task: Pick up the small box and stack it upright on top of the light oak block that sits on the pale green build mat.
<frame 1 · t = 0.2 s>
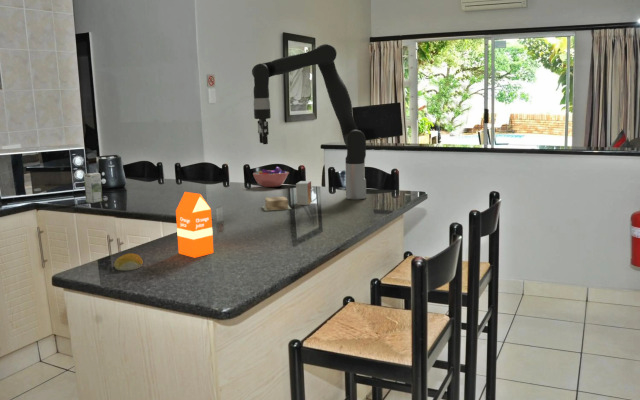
hand: (263, 143, 272), 28 cm above the worktop, tool pointing down, fingers open, 8 cm apart
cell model: (271, 187, 328), on the worktop
small box: (304, 204, 273), on the worktop
oak block: (276, 207, 263), point 1 cm above the worktop, touching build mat
orange juice: (196, 253, 191), on the worktop
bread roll: (129, 267, 178), on the worktop
syrup box: (94, 202, 292), on the worktop
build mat: (276, 208, 263), on the worktop
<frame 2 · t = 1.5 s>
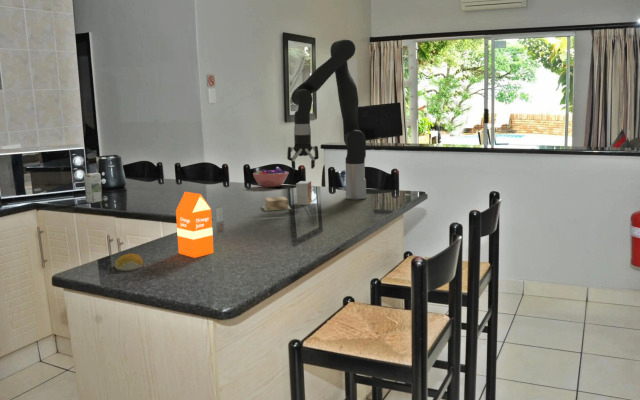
hand: (303, 168, 270), 17 cm above the worktop, tool pointing down, fingers open, 8 cm apart
nothing on the worktop moved.
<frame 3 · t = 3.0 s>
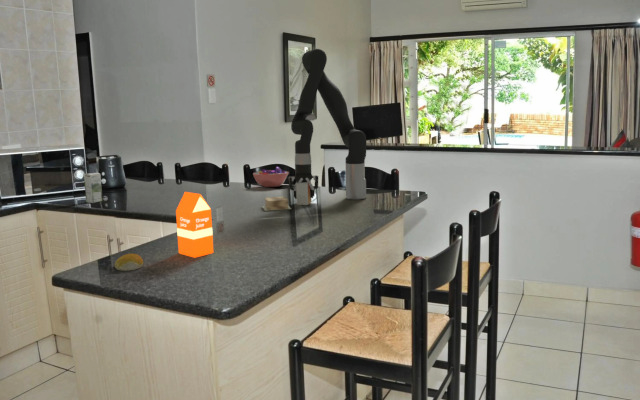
hand: (303, 198, 272), 3 cm above the worktop, tool pointing down, fingers closed on small box, 7 cm apart
small box: (304, 204, 273), on the worktop, touching gripper
everything else where it was.
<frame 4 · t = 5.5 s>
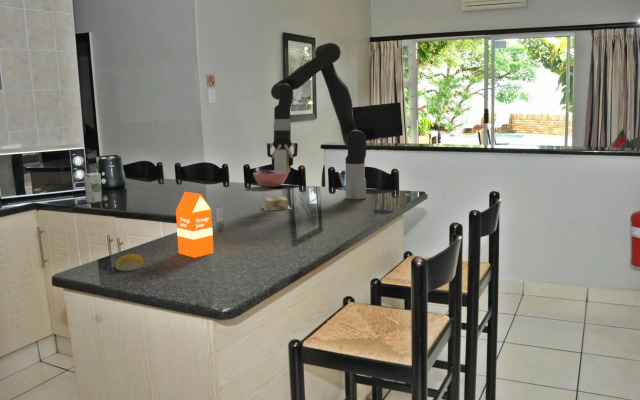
hand: (282, 166, 263), 19 cm above the worktop, tool pointing down, fingers closed on small box, 7 cm apart
small box: (282, 173, 264), point 16 cm above the worktop, touching gripper
everything else where it was.
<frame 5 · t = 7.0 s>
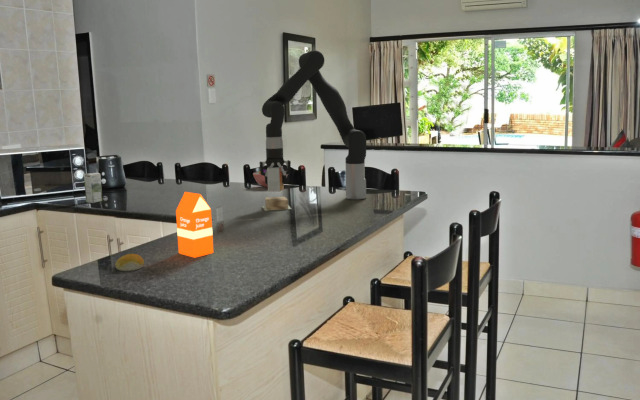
hand: (275, 184, 261), 11 cm above the worktop, tool pointing down, fingers closed on small box, 7 cm apart
small box: (276, 190, 262), point 8 cm above the worktop, touching gripper
everything else where it was.
when the fingers open (9 cm above the worktop, at t = 8.1 s): small box drops 1 cm, resting on oak block.
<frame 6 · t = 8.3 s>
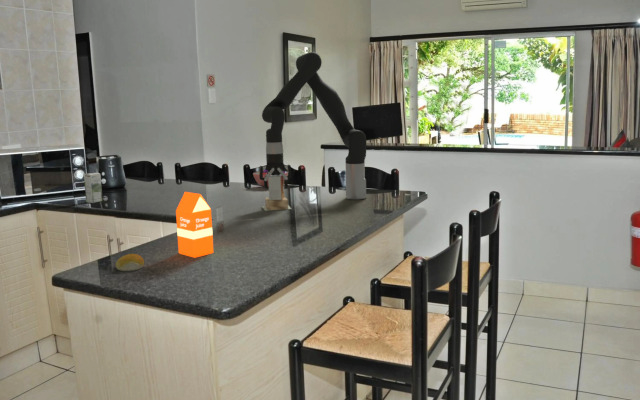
hand: (276, 188, 262), 9 cm above the worktop, tool pointing down, fingers open, 8 cm apart
small box: (277, 199, 262), point 4 cm above the worktop, touching oak block
oak block: (276, 207, 263), point 1 cm above the worktop, touching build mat, small box
everything else where it was.
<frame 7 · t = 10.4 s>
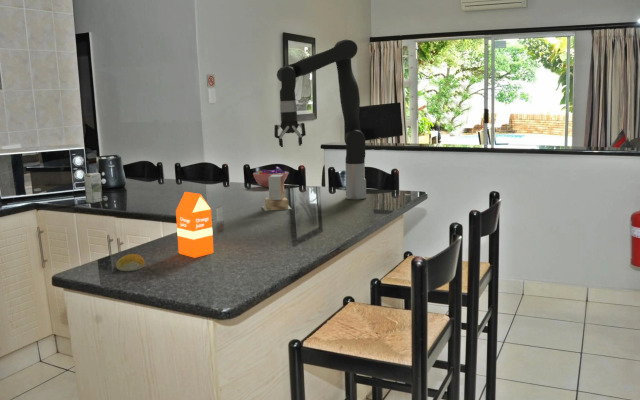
hand: (290, 146, 271), 27 cm above the worktop, tool pointing down, fingers open, 8 cm apart
nothing on the worktop moved.
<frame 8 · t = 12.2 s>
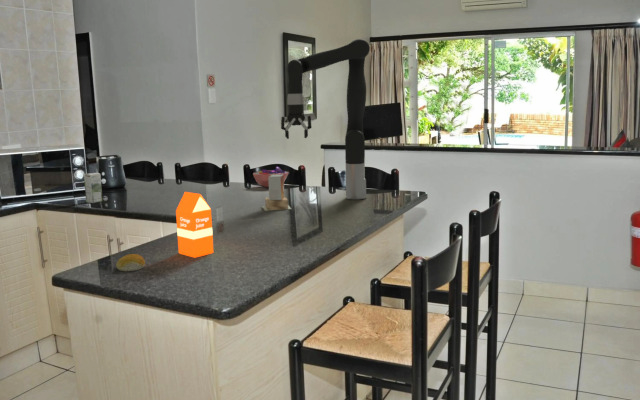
hand: (296, 138, 277), 30 cm above the worktop, tool pointing down, fingers open, 8 cm apart
at the end: small box 0.3 cm from the oak block (horizontally); small box touching oak block; small box tilted 0° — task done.
